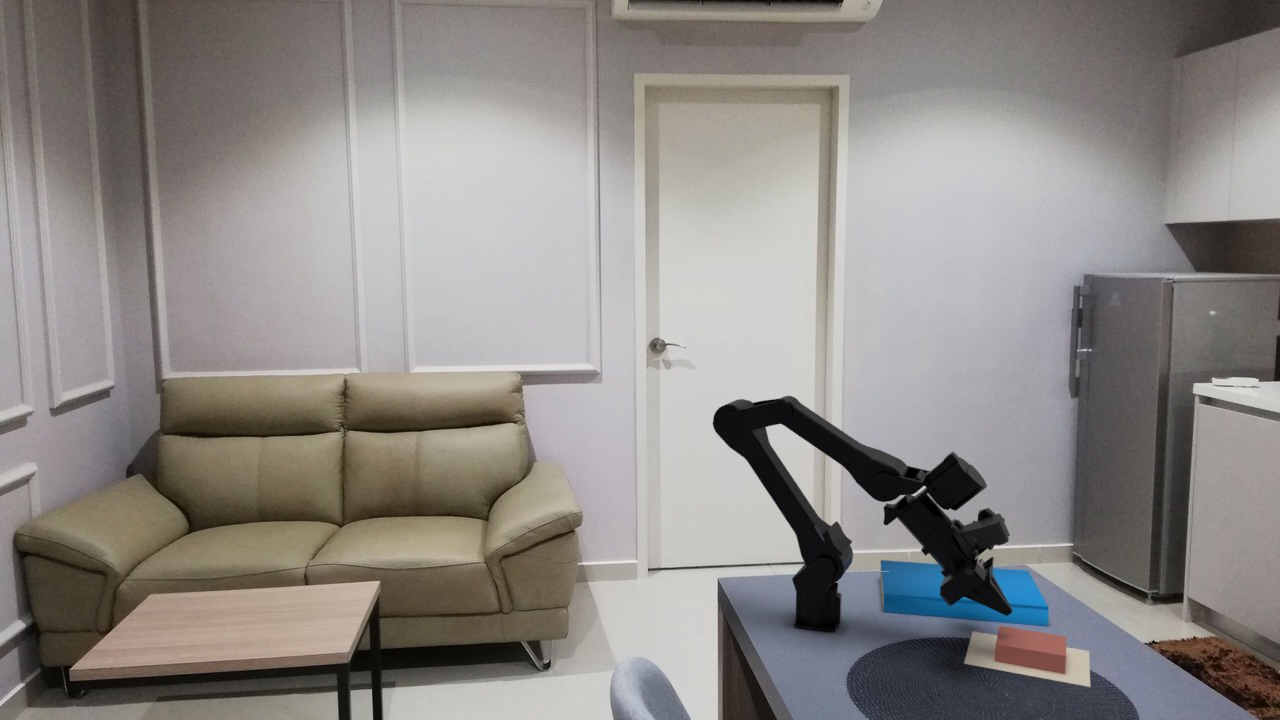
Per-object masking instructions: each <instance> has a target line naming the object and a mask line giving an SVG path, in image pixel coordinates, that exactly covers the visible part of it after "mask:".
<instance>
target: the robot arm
mask: <svg viewBox="0 0 1280 720" xmlns="http://www.w3.org/2000/svg"><path fill="white" fill-rule="evenodd" d="M777 425H782V426H784V427H785V428H787V429H788V430H790V431H791V432H793V433H795V434H796V435H797V436H799V437H800V438H801V439H803V440H804V441H806V442H807V443H809V444H810V445H811V446H813V447H815V448H816V449H818V450H819V451H820V452H821V453H823V454H824V455H826V456H828V457H829V458H831V459H832V460H833V461H835V462H836V463H838V464H839V465H841V466H842V467H843V468H844V469H845V470H846V471H848V473H849V475H850V476H851V478H852V479H853V480H854V481H855V483H856V484H857V485H858V486H859V487H860V488H861V489H863V490H864V492H865V493H866V494H868V495H869V496H870V497H871V498H872V499H874V500H876V501H878V502H881V503H884V502H885V505H884V506H883V513H884V516H883V525H884V526H889V524H891V523H892V522H894V520H896V519H897V520H898V521H899V522H900V523H901V524H902V525H903V526H904V527H905V528H906V530H907V531H908V532H909V533H910V534H911V535H912V536H913V537H914V538H915V540H916V541H918V543H919V544H920V545H921V546H922V548H921V549H920V551H921V552H922V553H923V554H924V556H928V555H930V556H931V557H932V559H934V560H935V562H936V564H939V565H940V566H941V567H942V571H941V573H942V574H943V576H944V577H945V578H944V579H943V582H942V584H941V587H940V596H941V597H942V598H943V599H944V601H945V602H946V603H947V604H948V605H949V606H951V605H953V604H954V603H956V602H957V601H959V600H960V599H961V598H963V597H966V598H968V599H971V600H973V601H975V602H978V603H980V604H982V605H984V606H987V607H989V608H991V609H993V610H995V611H997V612H999V613H1001V614H1003V615H1005V616H1008V615H1009V614H1011V613H1012V608H1011V606H1010V604H1009V602H1008V601H1007V599H1006V597H1005V595H1004V594H1003V592H1002V590H1001V588H1000V586H999V585H998V583H997V581H996V579H995V577H994V575H993V568H994V562H995V561H994V560H995V558H994V556H992V557H989V558H988V559H987V560H984V559H983V558H980V559H979V556H980V555H982V554H983V553H984V552H985V551H986V550H989V551H992V550H994V547H995V546H1002V545H1005V544H1007V543H1009V541H1010V540H1009V537H1010V536H1011V534H1010V532H1009V530H1008V527H1007V525H1006V523H1005V522H1006V520H1005V518H1004V517H1003V516H1002V514H1000V513H995V512H994V511H993V510H992V509H991V508H990V507H986V508H984V509H980V510H979V511H978V513H977V520H972V522H970V523H967V524H963V523H962V522H961V521H960V519H956V518H953V519H951V518H950V517H949V516H948V515H947V514H946V513H945V512H944V511H945V510H946V511H949V510H952V511H955V512H956V511H958V510H959V509H960V508H962V507H963V506H965V505H966V504H967V503H969V502H970V501H971V500H972V499H973V498H975V497H976V496H977V495H978V494H980V493H981V492H983V491H984V490H985V489H987V487H988V485H987V482H986V480H985V479H984V477H983V476H982V475H981V473H980V472H979V470H977V468H976V467H975V466H973V465H972V464H970V463H969V462H967V461H966V460H964V458H962V457H960V456H958V455H957V454H956V452H955V451H951V452H950V453H948V454H947V455H946V456H945V457H944V459H943V460H942V461H941V462H940V463H938V464H937V465H936V466H935V467H934V468H932V469H931V470H927V469H922V468H918V467H913V466H910V465H907V464H906V463H905V462H904V461H903V459H900V458H898V457H897V456H894V455H892V454H889V453H887V452H885V451H884V450H881V449H878V448H875V447H871V446H868V445H865V444H863V443H861V442H860V441H857V440H856V439H854V437H852V436H850V435H849V434H847V433H846V432H844V431H842V430H841V429H840V428H838V427H836V426H835V425H834V424H832V423H831V422H829V421H828V420H826V419H825V418H823V417H822V416H820V415H819V414H817V413H816V412H814V411H813V410H811V409H810V408H809V407H807V406H806V405H804V404H803V403H801V401H799V400H798V399H797V398H796V397H794V396H792V395H786V396H785V395H784V396H782V397H780V398H772V399H766V400H760V401H755V402H752V401H751V400H748V399H745V398H744V399H743V398H739V399H736V400H735V399H734V400H733V401H730V402H727V403H725V404H724V405H721V406H720V407H719V408H718V409H716V410H715V412H714V415H713V419H712V427H713V430H714V431H715V433H716V434H717V436H718V437H719V438H720V439H721V440H722V441H723V442H724V443H725V444H726V445H727V446H728V448H729V449H730V450H733V451H734V452H735V453H736V454H738V455H739V456H741V457H742V458H743V459H745V460H746V462H747V463H748V465H749V466H750V468H751V469H752V471H753V472H754V474H755V476H756V477H757V478H758V480H759V481H760V483H761V484H762V486H763V487H764V489H765V490H766V492H767V493H768V495H769V496H770V498H771V499H772V501H773V502H774V504H775V505H776V506H777V508H778V510H779V512H781V514H782V516H783V517H784V519H785V521H786V522H787V523H788V525H789V526H790V528H791V529H792V531H793V532H794V535H795V537H796V540H797V543H798V545H797V546H798V548H799V551H800V552H799V553H800V557H801V558H802V560H803V563H804V564H803V565H802V567H801V568H800V569H799V570H798V571H797V572H796V574H795V575H793V576H792V578H791V579H792V583H793V586H794V590H795V618H794V622H793V627H795V628H801V629H808V630H818V631H824V632H825V631H826V632H836V631H837V629H838V628H837V627H838V625H840V623H841V621H842V620H841V619H842V598H843V597H842V596H843V595H842V593H841V592H839V583H838V582H839V580H841V579H842V578H843V576H844V575H845V573H846V572H847V570H849V568H850V566H851V564H852V563H853V559H854V552H853V551H854V550H853V549H852V546H851V545H852V543H853V541H852V539H850V538H849V537H847V535H846V533H844V531H843V529H842V527H841V525H840V523H839V522H838V521H834V523H832V524H831V525H830V524H828V523H827V522H826V521H824V520H823V519H821V517H820V516H819V515H818V513H817V512H816V510H815V509H814V508H813V506H812V504H811V503H810V502H809V500H808V499H807V497H806V496H805V494H804V492H803V491H802V490H801V488H800V486H799V484H797V482H796V481H795V479H794V477H792V475H791V473H790V472H789V470H788V469H787V467H786V466H785V464H784V463H783V461H782V460H781V458H780V456H779V455H778V453H777V452H776V450H774V448H773V446H772V445H771V443H770V439H769V435H768V432H767V428H768V427H773V426H777ZM924 487H925V488H924ZM922 488H924V489H922ZM921 489H922V490H921ZM920 490H921V491H920ZM916 493H917V494H916ZM915 494H916V495H915ZM900 496H903V497H902V498H900V499H899V500H898V501H896V502H895V503H888V502H892V501H895V500H896V499H898V498H899V497H900ZM886 502H887V503H886ZM942 509H943V510H942Z"/></svg>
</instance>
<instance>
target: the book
mask: <svg viewBox="0 0 1280 720" xmlns="http://www.w3.org/2000/svg"><path fill="white" fill-rule="evenodd" d="M930 569H931V570H930ZM880 571H889V572H879V574H880V576H879V577H880V579H879V580H880V581H879V582H880V587H881V598H882V610H883V613H894V614H904V615H917V616H926V617H927V616H930V617H938V618H939V617H940V618H951V619H952V618H953V619H965V620H973V621H975V620H976V621H985V622H986V621H987V622H997V623H1007V624H1008V623H1011V624H1021V625H1033V626H1045V627H1048V626H1049V621H1050V620H1049V615H1050V613H1049V606H1048V603H1047V601H1046V600H1045V599H1044V596H1043V595H1042V593H1041V591H1040V588H1038V586H1037V583H1036V582H1035V580H1034V578H1033V577H1032V575H1031V572H1030V571H1029V570H1025V569H1024V570H1023V569H1008V568H997V567H995V568H994V567H993V575H994V577H995V579H996V581H997V583H998V585H999V586H1000V588H1001V590H1002V592H1003V594H1004V595H1005V597H1006V599H1007V601H1008V602H1009V604H1010V606H1011V608H1012V613H1011V614H1009V615H1008V616H1005V615H1003V614H1001V613H999V612H997V611H995V610H993V609H991V608H989V607H987V606H984V605H982V604H980V603H978V602H975V601H973V600H971V599H968V598H966V597H963V598H961V599H960V600H959V601H957V602H956V603H954V604H953V605H951V606H949V605H948V604H947V603H946V602H945V601H944V599H943V598H942V597H941V596H940V587H941V584H942V582H943V579H944V578H945V577H944V576H943V574H942V573H941V571H942V567H941V566H940V565H939V564H938V563H930V562H929V563H927V562H912V561H911V562H909V561H899V560H887V559H886V560H885V559H881V560H880Z"/></svg>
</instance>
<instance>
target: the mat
mask: <svg viewBox="0 0 1280 720" xmlns="http://www.w3.org/2000/svg"><path fill="white" fill-rule="evenodd" d="M997 636H998V634H992V633H984V632H980V631H972V633H971V636H970V639H969V644H968V647H967V651H966V655H965V659H964V661H963V664H964V665H969V666H974V667H975V666H976V667H981V668H985V669H991V670H997V671H1002V672H1006V673H1012V674H1017V675H1023V676H1028V677H1029V676H1030V677H1033V678H1040V679H1045V680H1050V681H1056V682H1062V683H1064V684H1066V683H1067V684H1071V685H1076V686H1083V687H1087V688H1091V672H1090V671H1091V670H1090V669H1091V667H1090V665H1091V663H1090V651H1089V650H1084V649H1079V648H1073V647H1067V646H1066V665H1065V674H1062V673H1056V672H1051V671H1045V670H1040V669H1034V668H1029V667H1023V666H1018V665H1012V664H1007V663H1001V662H996V661H995V651H996V641H997Z"/></svg>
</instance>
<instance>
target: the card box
mask: <svg viewBox="0 0 1280 720" xmlns="http://www.w3.org/2000/svg"><path fill="white" fill-rule="evenodd" d="M997 635H998V636H997V641H996V651H995V661H996V662H1001V663H1007V664H1012V665H1018V666H1023V667H1029V668H1034V669H1040V670H1045V671H1051V672H1056V673H1062V674H1065V665H1066V647H1067V636H1065V635H1060V634H1053V633H1049V632H1048V633H1047V632H1040V631H1034V630H1029V629H1022V628H1017V627H1011V626H1004V625H999V627H998V631H997Z"/></svg>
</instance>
